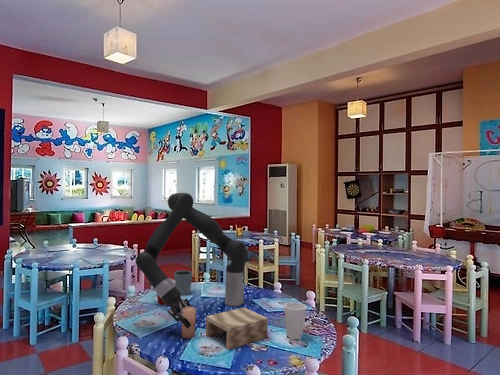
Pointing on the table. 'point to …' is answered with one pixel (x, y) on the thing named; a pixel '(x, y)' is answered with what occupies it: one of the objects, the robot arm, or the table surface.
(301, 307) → the foam cup
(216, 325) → the wooden stand
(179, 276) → the drinking glass
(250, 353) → the table surface
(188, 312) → the tan dome-topped peg
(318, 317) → the table surface
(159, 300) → the plastic cup
